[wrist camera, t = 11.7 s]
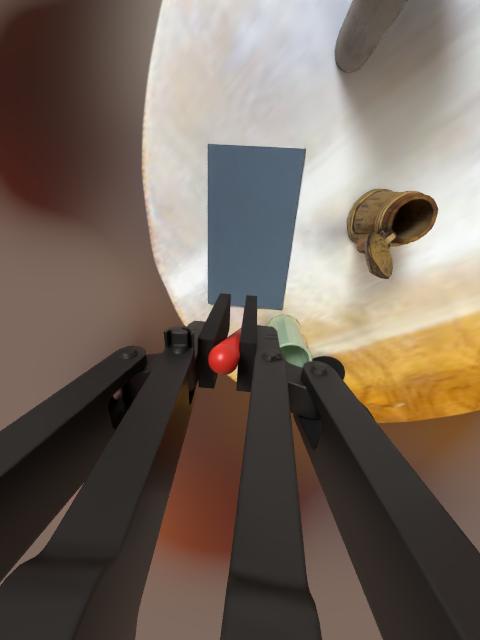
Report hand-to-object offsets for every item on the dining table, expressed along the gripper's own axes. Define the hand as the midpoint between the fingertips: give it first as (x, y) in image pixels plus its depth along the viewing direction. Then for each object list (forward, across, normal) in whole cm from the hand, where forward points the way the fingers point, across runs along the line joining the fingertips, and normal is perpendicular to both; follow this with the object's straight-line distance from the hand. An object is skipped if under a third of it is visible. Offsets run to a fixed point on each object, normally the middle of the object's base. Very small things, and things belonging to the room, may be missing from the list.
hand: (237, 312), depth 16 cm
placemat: (+30, 0, +3) cm, 30 cm away
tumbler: (+30, +9, -16) cm, 35 cm away
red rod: (+3, 0, -4) cm, 5 cm away
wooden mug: (+30, +20, +6) cm, 37 cm away
